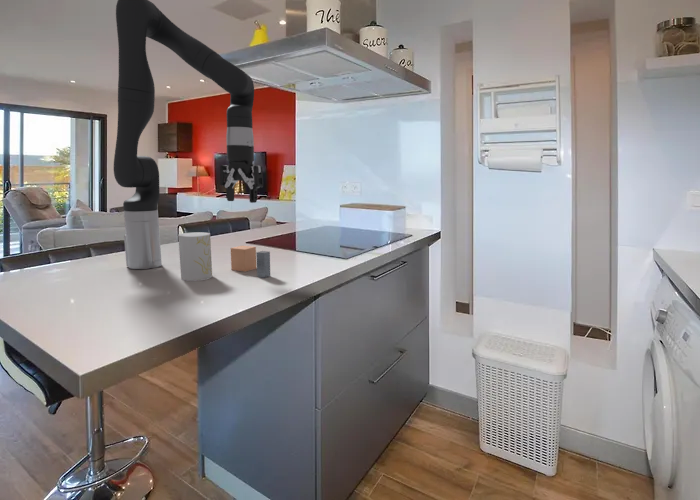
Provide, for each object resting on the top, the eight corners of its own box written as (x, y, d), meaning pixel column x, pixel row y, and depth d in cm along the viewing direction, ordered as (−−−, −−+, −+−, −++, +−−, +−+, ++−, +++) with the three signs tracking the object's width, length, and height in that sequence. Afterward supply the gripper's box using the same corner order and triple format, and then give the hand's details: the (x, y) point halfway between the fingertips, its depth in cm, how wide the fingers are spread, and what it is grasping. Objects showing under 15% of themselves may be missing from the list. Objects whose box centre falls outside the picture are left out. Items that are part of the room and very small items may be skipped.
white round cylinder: (202, 281, 112) (199, 237, 110) (174, 279, 114) (172, 235, 112) (217, 274, 120) (215, 232, 118) (191, 273, 122) (189, 231, 120)
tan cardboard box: (231, 269, 126) (230, 248, 125) (242, 266, 131) (242, 245, 130) (245, 271, 124) (244, 249, 123) (256, 268, 129) (255, 246, 127)
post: (257, 277, 118) (256, 252, 116) (262, 275, 120) (262, 250, 119) (264, 278, 117) (264, 253, 115) (270, 276, 119) (269, 251, 118)
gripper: (212, 144, 120) (214, 201, 123) (250, 143, 114) (252, 203, 116) (230, 145, 127) (232, 200, 130) (268, 145, 120) (269, 202, 123)
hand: (241, 201), depth 123 cm, fingers open, 8 cm apart
